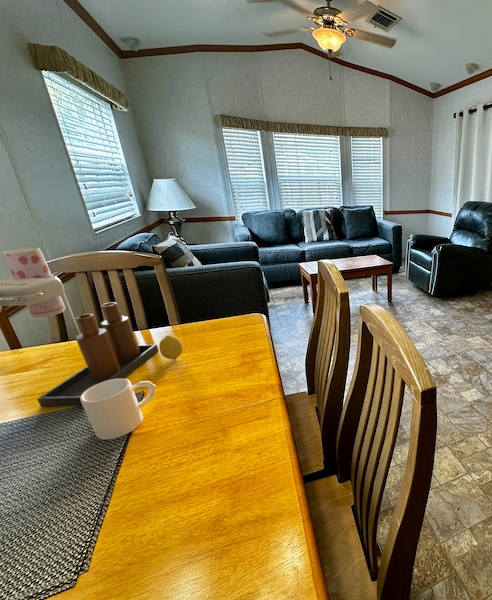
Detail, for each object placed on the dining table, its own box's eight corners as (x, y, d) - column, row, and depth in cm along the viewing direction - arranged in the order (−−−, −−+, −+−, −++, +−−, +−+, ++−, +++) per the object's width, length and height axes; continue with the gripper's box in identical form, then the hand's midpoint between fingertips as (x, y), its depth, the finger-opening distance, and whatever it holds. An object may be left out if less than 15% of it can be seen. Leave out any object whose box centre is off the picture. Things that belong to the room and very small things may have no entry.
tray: (90, 406, 78) (86, 397, 77) (41, 407, 78) (36, 398, 77) (158, 351, 102) (156, 344, 101) (121, 352, 101) (118, 345, 100)
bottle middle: (88, 383, 86) (62, 322, 80) (100, 371, 92) (76, 313, 85) (115, 379, 88) (92, 319, 81) (125, 367, 93) (104, 310, 87)
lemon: (189, 356, 99) (183, 333, 96) (171, 366, 94) (163, 341, 91) (178, 352, 101) (171, 329, 98) (159, 361, 96) (151, 337, 93)
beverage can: (36, 320, 73) (5, 254, 67) (28, 314, 75) (-2, 250, 70) (69, 311, 77) (44, 248, 72) (61, 306, 80) (36, 246, 74)
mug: (166, 418, 74) (154, 382, 71) (96, 446, 67) (79, 407, 63) (161, 401, 80) (149, 367, 76) (96, 424, 72) (80, 388, 69)
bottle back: (112, 366, 94) (89, 309, 87) (121, 356, 99) (101, 301, 92) (136, 363, 95) (116, 306, 89) (144, 353, 101) (126, 299, 94)
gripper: (16, 285, 60) (81, 265, 73) (-100, 287, 60) (-14, 266, 73) (30, 316, 63) (91, 291, 76) (-81, 318, 62) (-1, 293, 75)
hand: (38, 279), depth 74 cm, fingers closed on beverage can, 5 cm apart
